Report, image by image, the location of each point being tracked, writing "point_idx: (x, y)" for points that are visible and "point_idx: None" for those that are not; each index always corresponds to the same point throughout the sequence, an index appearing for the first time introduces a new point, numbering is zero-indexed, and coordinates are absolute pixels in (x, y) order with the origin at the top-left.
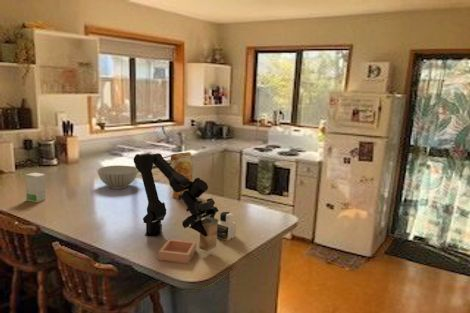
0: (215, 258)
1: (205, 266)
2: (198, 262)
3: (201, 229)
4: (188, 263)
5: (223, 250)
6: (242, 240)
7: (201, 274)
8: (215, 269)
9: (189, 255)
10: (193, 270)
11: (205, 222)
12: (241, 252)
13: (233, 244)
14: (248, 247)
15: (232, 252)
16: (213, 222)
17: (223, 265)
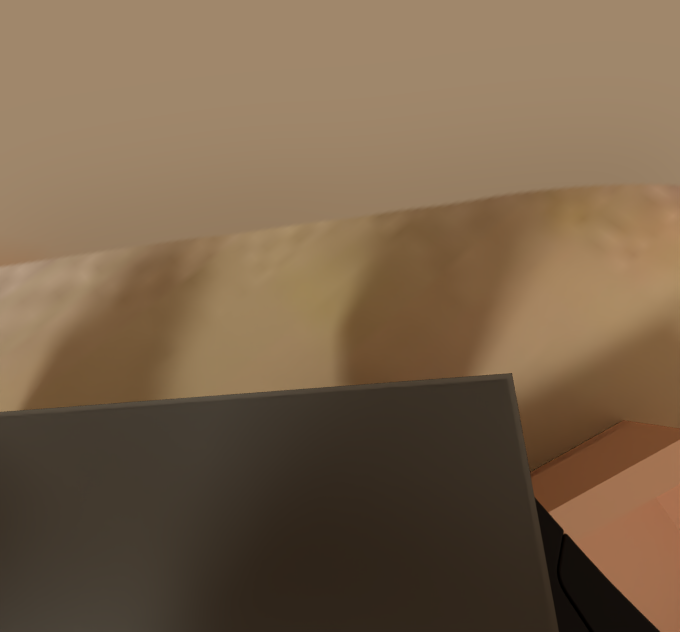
0: (380, 332)
1: (531, 298)
2: (530, 381)
3: (563, 552)
4: (621, 423)
5: (238, 377)
6: (21, 384)
7: (641, 236)
8: (505, 222)
9: (644, 445)
10: (654, 317)
11: (549, 589)
12: (185, 267)
13: (112, 389)
14: (95, 283)
15: (223, 309)
16: (250, 395)
17: (419, 225)
